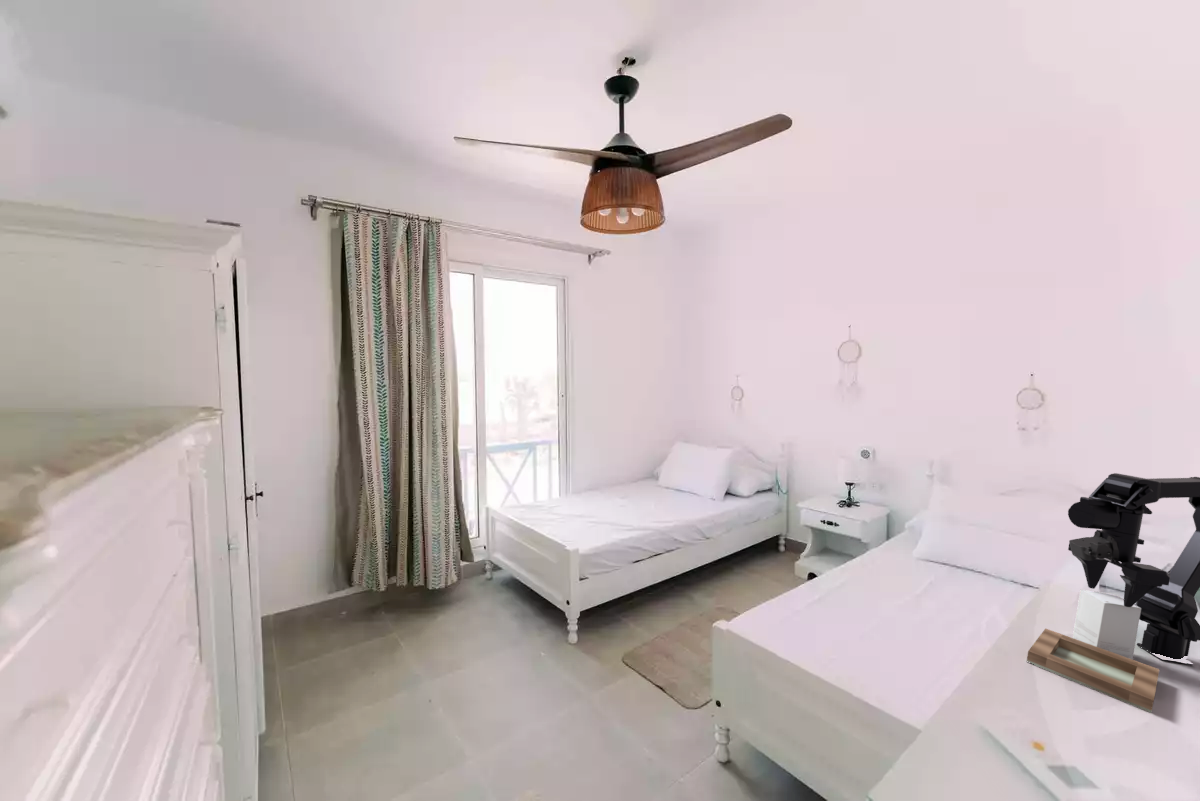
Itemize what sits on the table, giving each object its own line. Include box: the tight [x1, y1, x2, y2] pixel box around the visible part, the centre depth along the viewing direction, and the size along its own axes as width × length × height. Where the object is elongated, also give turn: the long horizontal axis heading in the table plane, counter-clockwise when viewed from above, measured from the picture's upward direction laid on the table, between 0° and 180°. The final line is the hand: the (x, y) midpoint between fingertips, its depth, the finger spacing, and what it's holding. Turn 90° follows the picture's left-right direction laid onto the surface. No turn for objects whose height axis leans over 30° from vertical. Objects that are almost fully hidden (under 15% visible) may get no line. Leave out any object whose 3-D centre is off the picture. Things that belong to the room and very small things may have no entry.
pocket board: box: [1026, 628, 1160, 714], centre depth 104 cm, size 18×18×2 cm
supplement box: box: [1071, 589, 1141, 660], centre depth 113 cm, size 7×7×13 cm
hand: (1108, 597), depth 112 cm, fingers open, 9 cm apart
